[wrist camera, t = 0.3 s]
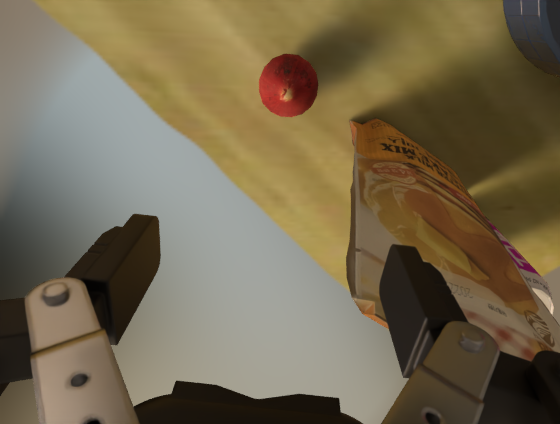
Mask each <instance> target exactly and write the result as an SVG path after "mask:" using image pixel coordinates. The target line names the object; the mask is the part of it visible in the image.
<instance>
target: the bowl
mask: <svg viewBox="0 0 560 424" xmlns="http://www.w3.org/2000/svg"><path fill="white" fill-rule="evenodd" d="M503 6H504V14H505V18H506V23H507V26H508V29H509V32H510V34H511V37H512V39H513V41H514V42H515V44H516V46H517V48H518V49H519V51H520V52H521V53H522V54H523V55H524V56H525V58H526V59H527V60H528V61H530V62H531V63H532V64H533V65H534V66H536V67H537V68H539V69H541V70H542V71H544V72H546V73H548V74H551V75H554V76H556V77H559V78H560V0H503Z"/></svg>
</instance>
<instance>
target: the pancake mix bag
mask: <svg viewBox="0 0 560 424" xmlns="http://www.w3.org/2000/svg"><path fill="white" fill-rule="evenodd" d="M349 121H350V126H351V131H352V141H353V145H354V148H355V154H354V166H353V183H352V186H351V228H350V242H349V247H348V252H347V257H346V266H347V280H348V284H349V288H350V292H351V296H352V299H353V300H354V301H355V303H356V305H357V306H358V308H359V309H360V311H361V312H362V314H364V315H365V316H367V317H369V318H371V319H372V320H374V321H376V322H377V323H379V324H381V325H382V326H384V327H386V328H388V329H389V327H388V324H387V321H386V317H385V314H384V310H383V307H382V304H381V300H380V296H379V285H380V279H381V276H382V272H383V269H384V266H385V262H386V259H387V255H388V252H389V249H390V247H391V245H392V244H398V245H407V246H415V247H416V248H417V250H418V252H419V254H420V256H421V258H422V260H423V262H430V263H431V264H432V265H433V266H434V267H435V268H436V269H437V270H439V271H440V272H441V274H442V275H443V277H444V279H445V281H446V283H447V285H448V286H449V288H450V290H451V291H452V294H453V295H454V297H455V299H456V300H457V302H458V304H459V306H460V308H461V309H462V311H463V313H464V315H465V316H466V318H467V320H468V322H469V323H471V324H473V325H476V326H478V327H480V328H481V329H483V330H484V331H486V332H487V333H488V334H490V335H491V336H492V337H493V338H494V340H495V341H496V342H497V344H498V346H499V349H500V351H503V352H505V353H508V354H511V355H514V356H517V357H520V358H523V359H525V360H528V361H532V360H533V358H534V356H535V355H536V354H537V353H538V352H539V351H543V350H549V351H555V352H558V353H560V326H559V324H558V323H557V321H556V320H555V319H554V317H553V316H552V314H551V313H550V311H549V310H548V308H547V307H546V306H545V304H544V303H543V302H542V301H541V299H540V298H539V297H538V296H537V295H536V294H535V292H534V291H533V290H532V288H531V286H530V285H529V283H528V282H527V280H526V278H525V277H524V275H523V274H522V272H521V271H520V269H519V267H518V266H517V264H516V263H515V262H514V261H513V260H512V259H511V257H510V255H509V253H508V251H507V250H506V248H505V246H504V245H503V243H502V241H501V240H500V238H499V237H498V235H497V234H496V232H495V231H494V229H493V228H492V227H491V225H490V224H489V222H488V221H487V219H486V218H485V216H484V215H483V213H482V212H481V210H480V209H479V208H478V206H477V205H476V203H475V202H474V200H473V199H472V197H471V196H470V194H469V193H468V191H467V190H466V189H465V187H464V186H463V184H462V182H461V181H460V179H459V177H458V176H457V174H456V173H455V172H454V171H453V170H452V169H451V168H450V167H449V166H447V165H446V164H445V163H443V162H442V161H441V160H439V159H438V158H437V157H435V156H434V155H432V154H431V153H429V152H428V151H427V150H425V149H424V148H422V147H421V146H420V145H418V144H417V143H415V142H414V141H413V140H411V139H410V138H408V137H407V136H405V135H404V134H402V133H400V132H399V131H398V130H397V129H395V128H394V127H393V126H392V125H390V124H387V123H385V122H383V121H381V120H379V119H376V118H374V119H372V120H370V121H368V122H366V123H364V124H360V123H357V122H354V121H352V120H349Z"/></svg>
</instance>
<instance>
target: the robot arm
mask: <svg viewBox="0 0 560 424" xmlns="http://www.w3.org/2000/svg"><path fill="white" fill-rule="evenodd" d="M160 256H161V254H160V235H159V220H158V218H157V217H156V216H149V215H141V214H133V215H132V216H131V217H130V219H129V220H128V221H127V222H126V224H125V225H124V226H123V227H118V226H116V227H114V228H112V229H110V230H109V231H107V232H105V233H103V234H102V235H101V236H100V237H99V238H98V240H97V241H96V242H95V244H94V245H92V246H91V247H90V249H89V250H88V252H86V253H85V254H84V255H83V256H82V257H81V259H80V260H79V261H78V262H77V263H76V264H75V266H74V267H73V268H72V269H71V270H70V271H69V272H68V273H67V274H66V275H65V277H64V278H56V279H52V280H48V281H45V282H43V283H41V284H39V285H37V286H36V287H34V288H33V289H32V290H30V291H29V293H28V294H27V296H26V297H25V298H18V299H8V300H0V396H1V394H2V393H3V391H4V390H5V388H6V387H7V386H8V384H9V383H10V382H14V381H20V380H26V379H32V378H33V382H34V389H35V395H36V403H37V410H38V417H39V424H363V423H361V422H360V421H358V420H356V419H355V418H353V417H351V416H349V415H347V414H344V413H341V412H340V403H339V398H333V397H323V396H314V395H305V394H295V395H288V396H280V397H272V398H265V399H254V398H251V397H248V396H245V395H243V394H240V393H237V392H234V391H232V390H229V389H226V388H223V387H221V386H218V385H212V384H203V383H194V382H184V381H176V382H175V385H174V388H173V391H172V394H168V395H163V396H159V397H155V398H152V399H149V400H147V401H144V402H142V403H140V404H138V405H136V406H134V407H133V404H132V402H131V399H130V397H129V394H128V391H127V388H126V385H125V383H124V380H123V377H122V375H121V372H120V369H119V366H118V364H117V361H116V358H115V356H114V353H113V350H112V347H111V345H117V344H118V343H119V341H120V339H121V337H122V335H123V333H124V332H125V330H126V328H127V326H128V324H129V323H130V321H131V319H132V317H133V315H134V313H135V312H136V310H137V308H138V306H139V304H140V302H141V301H142V299H143V297H144V295H145V293H146V291H147V290H148V287H149V286H150V284H151V282H152V280H153V279H154V276H155V275H156V273H157V271H158V268H159V264H160ZM379 296H380V300H381V304H382V307H383V310H384V314H385V317H386V321H387V324H388V327H389V331H390V334H391V338H392V341H393V344H394V347H395V351H396V355H397V358H398V361H399V365H400V368H401V372H402V375H403V378H409V380H408V381H407V383H406V385H405V387H404V388H403V389H402V391H401V393H400V394H399V396H398V397H397V399H396V401H395V402H394V404H393V406H392V407H391V409H390V411H389V412H388V414H387V415H386V417H385V419H384V420H383V422H382V423H381V424H560V353H558V352H555V351H549V350H543V351H539V352H538V353H537V354H536V355H535V356H534V358H533V360H532V361H528V360H525V359H523V358H520V357H517V356H514V355H511V354H508V353H505V352H503V351H500V349H499V346H498V344H497V342H496V341H495V340H494V338H493V337H492V336H491V335H490V334H488V333H487V332H486V331H484V330H483V329H481V328H480V327H478V326H476V325H473V324H471V323H469V322H468V320H467V318H466V316H465V315H464V313H463V311H462V309H461V308H460V306H459V304H458V302H457V300H456V299H455V297H454V295H453V294H452V291H451V290H450V288H449V286H448V285H447V283H446V281H445V279H444V277H443V275H442V274H441V272H440V271H439V270H437V269H436V268H435V267H434V266H433V265H432V264H431V263H430V262H423V260H422V258H421V256H420V254H419V252H418V250H417V248H416V247H415V246H407V245H398V244H392V245H391V247H390V249H389V252H388V255H387V259H386V262H385V266H384V269H383V272H382V276H381V279H380V285H379Z"/></svg>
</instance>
